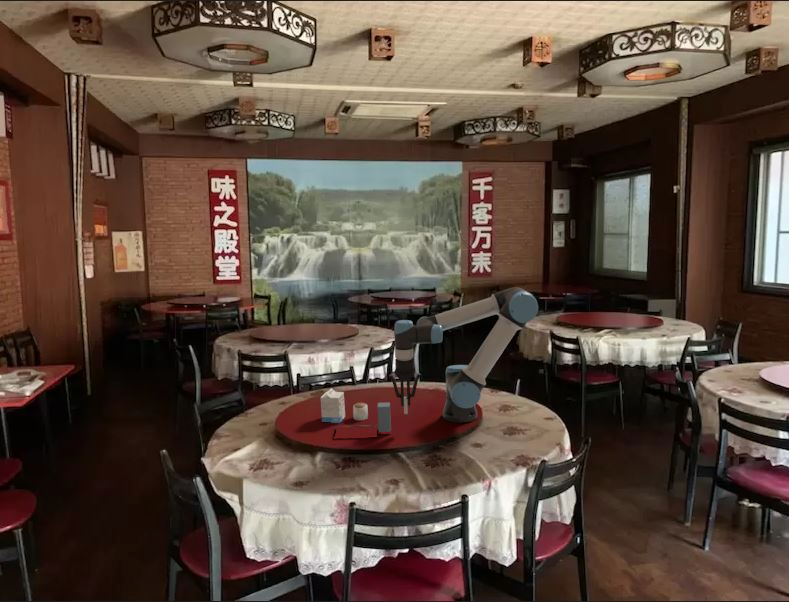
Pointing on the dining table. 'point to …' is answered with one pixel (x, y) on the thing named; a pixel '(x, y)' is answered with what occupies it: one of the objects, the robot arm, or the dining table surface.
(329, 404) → the ink box
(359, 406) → the white ceramic teacup
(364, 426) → the tea board
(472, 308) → the robot arm
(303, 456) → the dining table surface
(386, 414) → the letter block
